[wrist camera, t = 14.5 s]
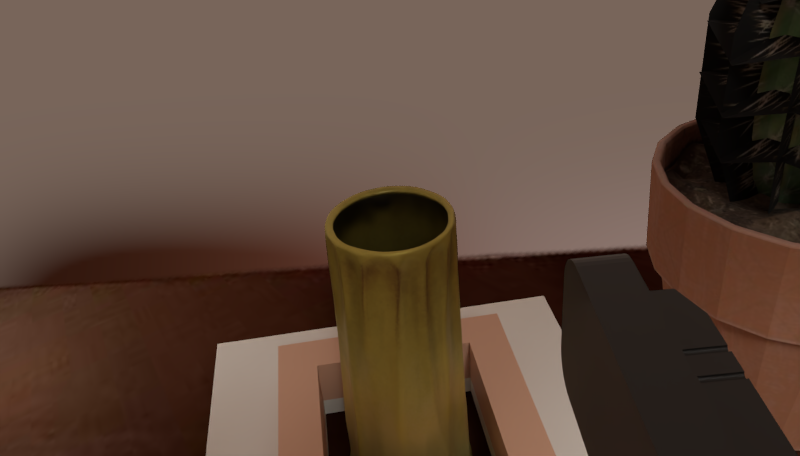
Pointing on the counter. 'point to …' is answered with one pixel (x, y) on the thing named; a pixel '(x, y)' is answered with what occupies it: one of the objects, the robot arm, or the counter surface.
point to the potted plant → (740, 197)
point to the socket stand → (323, 393)
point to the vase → (399, 322)
